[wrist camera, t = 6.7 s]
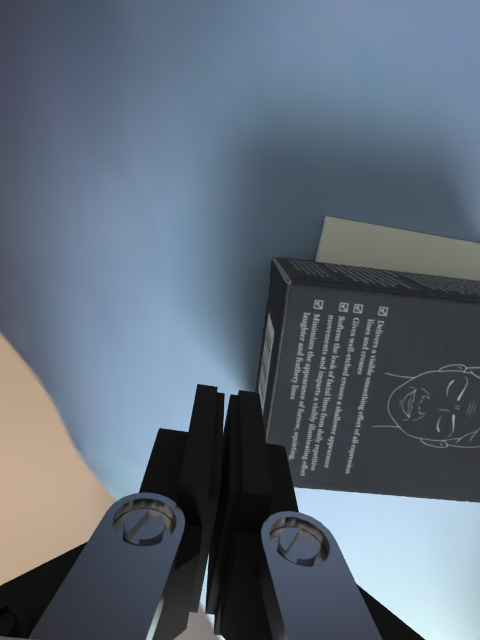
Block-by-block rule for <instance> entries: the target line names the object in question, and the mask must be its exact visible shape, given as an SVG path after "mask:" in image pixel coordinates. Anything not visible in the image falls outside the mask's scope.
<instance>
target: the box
mask: <svg viewBox="0 0 480 640" xmlns="http://www.w3.org/2000/svg"><path fill="white" fill-rule="evenodd" d="M255 393H259V394H260V400H261V407H262V415H263V422H264V429H265V437H266V443H269V444H276V445H283V446H285V449H286V453H287V458H288V463H289V467H290V472H291V477H292V482H293V487H298V488H309V489H324V490H333V491H345V492H359V493H370V494H382V495H395V496H406V497H417V498H428V499H443V500H455V501H468V502H479V503H480V281H477V280H468V279H459V278H451V277H444V276H434V275H426V274H417V273H409V272H399V271H391V270H382V269H373V268H365V267H355V266H347V265H339V264H330V263H322V262H314V261H306V260H298V259H287V258H274V259H272V262H271V272H270V287H269V296H268V303H267V310H266V317H265V326H264V332H263V340H262V347H261V354H260V361H259V369H258V375H257V383H256V390H255Z"/></svg>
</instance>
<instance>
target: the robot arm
mask: <svg viewBox="0 0 480 640" xmlns="http://www.w3.org/2000/svg"><path fill="white" fill-rule="evenodd" d="M224 396H225V393H218V392H217V387H214V386H208V385H201V384H197V389H196V395H195V400H194V405H193V411H192V416H191V421H190V427H189V432H184V431H177V430H170V429H163V428H160V429H159V431H158V434H157V437H156V440H155V443H154V446H153V449H152V453H151V456H150V459H149V462H148V465H147V469H146V472H145V475H144V478H143V481H142V484H141V488H140V491H139V493H135V494H132V495H129V496H126V497H123V498H121V499H120V500H118V501H117V502H115V503H114V504H113V505H112V506H111V507H110V508H109V510H107V512H106V514H105V515H104V517H103V519H102V520H101V522H100V523H99V525H98V526H97V528H96V530H95V532H94V533H93V534H92V536H91V538H90V539H89V541H88V542H86V543H84V544H82V545H80V546H78V547H76V548H74V549H72V550H70V551H68V552H66V553H64V554H62V555H60V556H58V557H56V558H54V559H52V560H50V561H48V562H46V563H44V564H42V565H40V566H38V567H36V568H34V569H32V570H30V571H28V572H26V573H24V574H22V575H21V576H18V577H17V578H15V579H13V580H11V581H9V582H7V583H5V584H3V585H1V586H0V640H173V639H175V638H176V637H177V636H178V635H179V634H181V633H182V632H183V631H184V630H185V629H186V627H187V622H188V616H189V612H196V613H197V612H198V607H199V602H200V596H201V591H202V586H203V581H204V575H205V570H206V565H207V559H208V554H209V563H208V578H207V593H206V609H205V613H206V614H213V615H215V619H214V634H216V635H222V636H223V637H224V638H225V640H425V639H424V638H422V637H421V636H420V635H419V634H418V633H416V632H415V631H414V630H413V629H411V628H410V627H409V626H408V625H406V624H405V623H404V622H403V621H402V620H400V619H399V618H398V617H397V616H395V615H394V614H393V613H392V612H390V611H389V610H388V609H387V608H386V607H384V606H383V605H382V604H381V603H379V602H378V601H377V600H376V599H374V598H373V597H372V596H371V595H369V594H368V593H367V592H366V591H365V590H363V589H362V588H361V587H360V586H358V585H357V584H356V582H355V580H354V578H353V576H352V574H351V572H350V570H349V567H348V565H347V563H346V561H345V559H344V557H343V555H342V552H341V550H340V548H339V546H338V544H337V542H336V540H335V538H334V537H333V535H332V534H331V532H330V531H329V530H328V529H327V528H326V527H325V526H324V525H323V524H322V523H321V522H319V521H317V520H316V519H314V518H312V517H311V516H308V515H305V514H302V513H300V512H299V511H298V506H297V501H296V496H295V492H294V487H293V482H292V477H291V472H290V467H289V463H288V458H287V453H286V449H285V446H283V445H276V444H269V443H266V437H265V429H264V422H263V415H262V407H261V400H260V394H259V393H255V392H248V391H241V390H239V392H238V395H232V394H231V395H230V399H229V405H228V410H227V416H226V421H225V427H224V432H223V420H224Z"/></svg>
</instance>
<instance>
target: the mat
mask: <svg viewBox="0 0 480 640" xmlns="http://www.w3.org/2000/svg"><path fill="white" fill-rule="evenodd" d="M315 262H322V263H330V264H339V265H347V266H355V267H365V268H373V269H382V270H391V271H399V272H409V273H417V274H426V275H434V276H444V277H451V278H459V279H468V280H477V281H480V243H475V242H469V241H464V240H458V239H453V238H447V237H441V236H436V235H430V234H424V233H419V232H413V231H408V230H402V229H396V228H391V227H385V226H380V225H374V224H368V223H363V222H357V221H351V220H346V219H340V218H335V217H329V216H325V219H324V224H323V228H322V233H321V237H320V242H319V246H318V251H317V255H316V260H315Z"/></svg>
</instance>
